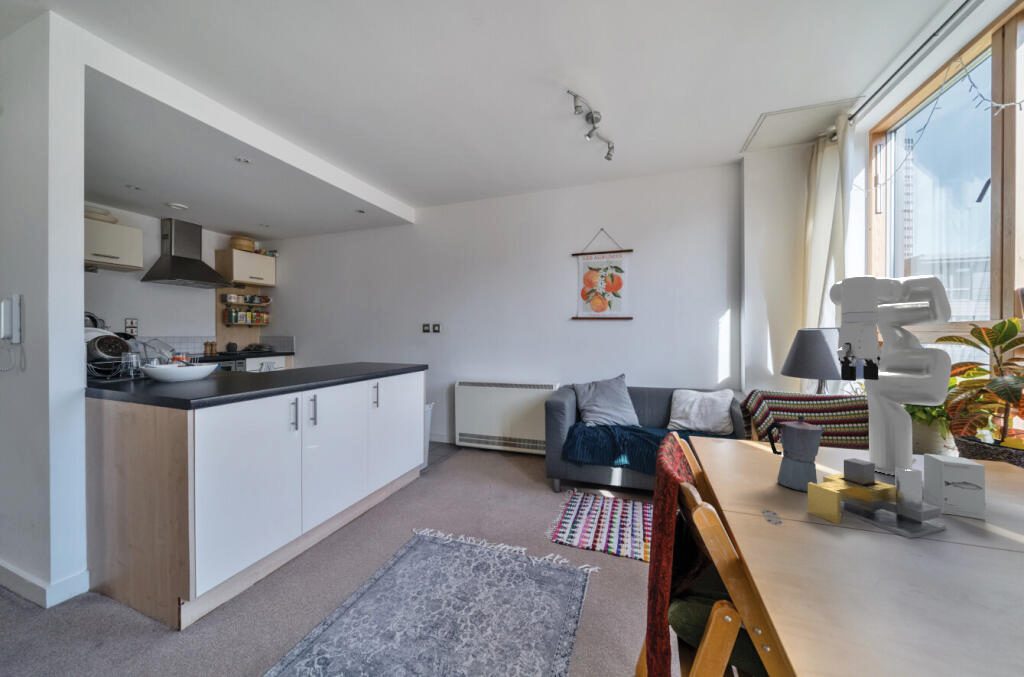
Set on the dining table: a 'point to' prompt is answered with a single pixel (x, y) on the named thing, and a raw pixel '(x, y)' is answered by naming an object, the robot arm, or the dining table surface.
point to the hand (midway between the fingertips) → (859, 380)
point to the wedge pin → (859, 475)
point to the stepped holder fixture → (877, 503)
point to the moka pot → (797, 452)
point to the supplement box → (955, 485)
